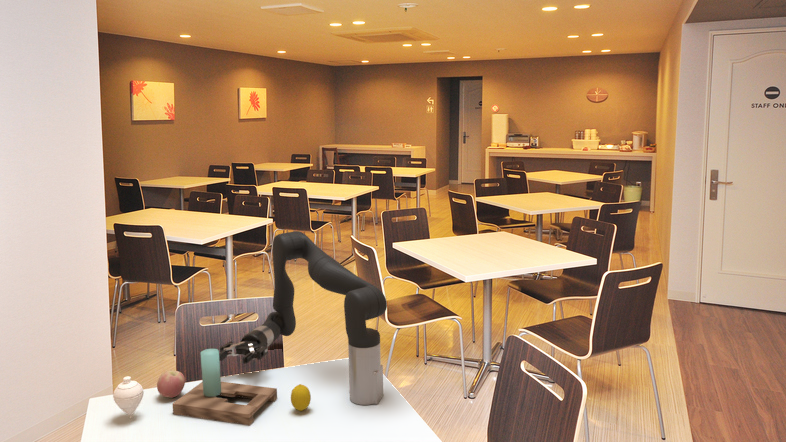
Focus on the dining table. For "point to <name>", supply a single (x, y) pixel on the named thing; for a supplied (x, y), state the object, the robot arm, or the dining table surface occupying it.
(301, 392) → the lemon
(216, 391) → the headed peg
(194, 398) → the keyhole plate
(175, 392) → the apple
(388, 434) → the dining table surface
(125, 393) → the spinning top
